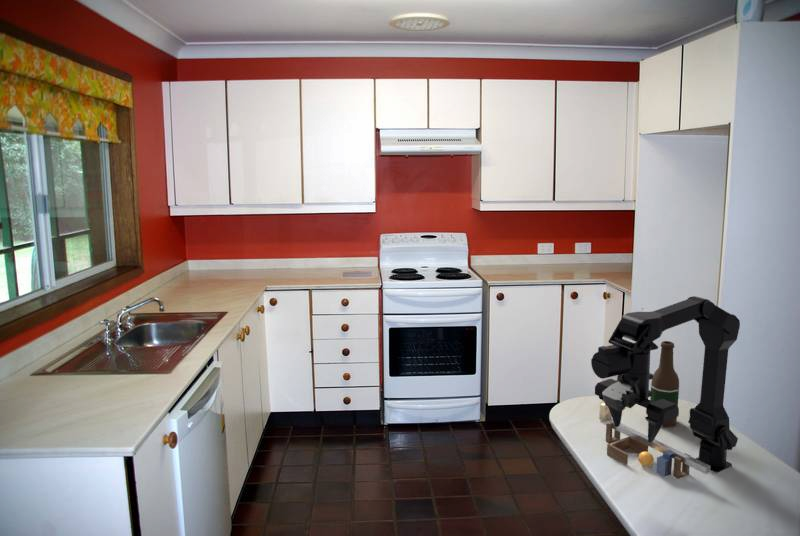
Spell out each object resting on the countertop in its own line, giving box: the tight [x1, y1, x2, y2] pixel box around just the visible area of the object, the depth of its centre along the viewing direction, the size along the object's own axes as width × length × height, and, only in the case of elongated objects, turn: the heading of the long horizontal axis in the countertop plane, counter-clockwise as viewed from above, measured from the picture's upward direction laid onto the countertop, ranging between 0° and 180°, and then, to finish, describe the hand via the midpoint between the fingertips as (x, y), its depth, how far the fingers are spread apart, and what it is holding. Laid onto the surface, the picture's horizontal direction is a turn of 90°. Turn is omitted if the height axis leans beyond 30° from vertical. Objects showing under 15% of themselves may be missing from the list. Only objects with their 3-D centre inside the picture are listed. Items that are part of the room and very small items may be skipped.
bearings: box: [605, 421, 691, 480], centre depth 152 cm, size 4×22×5 cm, turn 29°
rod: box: [598, 401, 711, 478], centre depth 150 cm, size 6×32×9 cm, turn 29°
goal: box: [606, 436, 649, 466], centre depth 153 cm, size 8×6×3 cm
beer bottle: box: [649, 340, 680, 428], centre depth 169 cm, size 8×8×24 cm
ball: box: [637, 451, 655, 468], centre depth 148 cm, size 4×4×4 cm
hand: (633, 433), depth 135 cm, fingers open, 9 cm apart
